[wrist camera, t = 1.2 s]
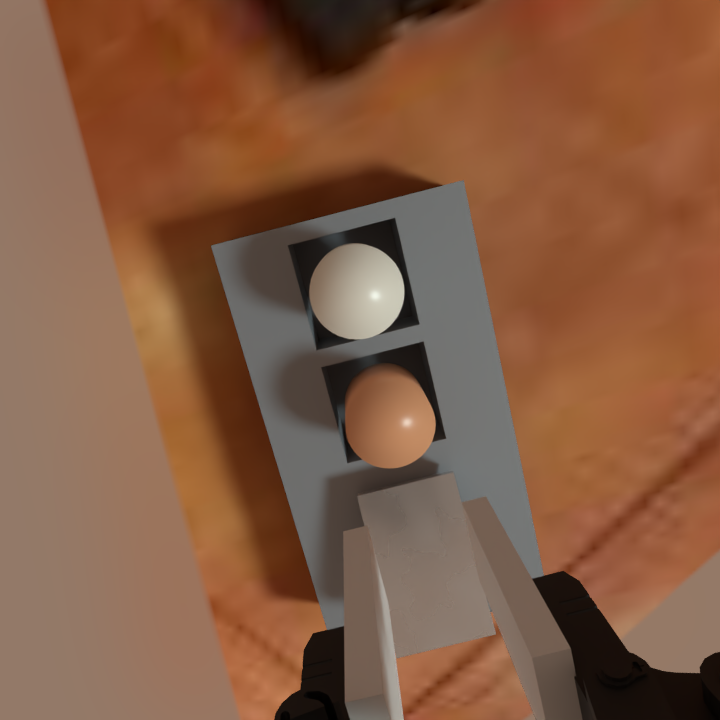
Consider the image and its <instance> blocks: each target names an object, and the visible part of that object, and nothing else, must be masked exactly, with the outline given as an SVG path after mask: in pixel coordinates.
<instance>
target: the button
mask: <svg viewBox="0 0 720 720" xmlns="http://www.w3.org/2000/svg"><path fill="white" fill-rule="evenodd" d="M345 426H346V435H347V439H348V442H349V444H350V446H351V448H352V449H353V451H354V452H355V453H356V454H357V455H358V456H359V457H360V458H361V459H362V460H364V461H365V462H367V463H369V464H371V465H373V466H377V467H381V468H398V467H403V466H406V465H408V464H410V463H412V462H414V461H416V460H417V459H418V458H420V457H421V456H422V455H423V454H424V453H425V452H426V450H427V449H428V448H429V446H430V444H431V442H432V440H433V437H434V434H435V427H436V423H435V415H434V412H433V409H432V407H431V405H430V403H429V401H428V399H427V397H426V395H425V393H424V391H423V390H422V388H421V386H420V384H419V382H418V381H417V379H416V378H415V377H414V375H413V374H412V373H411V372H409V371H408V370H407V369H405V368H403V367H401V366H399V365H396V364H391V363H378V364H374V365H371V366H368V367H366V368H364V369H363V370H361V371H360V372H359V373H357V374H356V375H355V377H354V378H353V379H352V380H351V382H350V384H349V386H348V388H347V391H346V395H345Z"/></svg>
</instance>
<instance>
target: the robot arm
mask: <svg viewBox="0 0 720 720" xmlns="http://www.w3.org/2000/svg"><path fill="white" fill-rule="evenodd" d="M462 506H463V511H464V515H465V519H466V524H467V528H468V532H469V537H470V541H471V545H472V550H473V554H474V558H475V563H476V567H477V571H478V576H479V580H480V583H481V585H482V587H483V590H484V592H485V595H486V597H487V600H488V602H489V605H490V607H491V610H492V612H493V615H494V617H495V620H496V622H497V625H498V627H499V630H500V632H501V635H502V637H503V640H504V642H505V644H506V647H507V649H508V652H509V654H510V657H511V659H512V662H513V664H514V667H515V669H516V672H517V674H518V677H519V679H520V682H521V684H522V687H523V689H524V692H525V694H526V697H527V699H528V701H529V704H530V706H531V709H532V711H533V714H534V716H535V719H536V720H720V652H718V653H714V654H712V655H710V656H709V657H707V658H705V659H704V661H703V663H702V664H701V666H700V673H674V672H666V671H661V670H657V669H653V668H651V667H650V666H649V665H648V664H647V662H646V661H645V660H643V659H642V658H640V657H638V656H637V655H635V654H633V653H629V652H628V651H627V649H626V648H625V646H624V645H623V643H622V642H621V640H620V639H619V637H618V636H617V635H616V633H615V632H614V630H613V629H612V627H611V626H610V624H609V623H608V622H607V620H606V619H605V617H604V616H603V614H602V613H601V611H600V610H599V609H598V608H597V606H596V604H595V603H594V601H593V600H592V598H590V596H589V594H588V593H587V591H586V590H585V588H584V587H583V585H582V584H581V583H580V581H579V580H577V579H575V578H574V577H572V576H570V575H569V574H567V573H566V572H564V571H561V572H557V573H553V574H549V575H545V576H541V577H537V578H533V579H532V578H531V576H530V574H529V573H528V571H527V569H526V567H525V565H524V564H523V562H522V560H521V558H520V557H519V555H518V553H517V551H516V549H515V548H514V546H513V544H512V542H511V540H510V539H509V537H508V535H507V533H506V531H505V530H504V528H503V526H502V524H501V522H500V521H499V519H498V517H497V515H496V513H495V512H494V510H493V508H492V506H491V505H490V503H489V501H488V499H487V497H486V496H485V497H481V498H477V499H473V500H468V501H464V502H462ZM343 557H344V626H342V627H338V628H333V629H329V630H325V631H321V632H317V633H313V635H312V636H311V638H310V640H309V642H308V643H307V645H306V647H305V649H304V656H303V669H302V678H301V680H302V683H301V690H299V691H297V692H295V693H293V694H292V695H290V696H289V697H288V698H287V699H286V700H285V701H284V702H283V703H282V704H281V706H280V707H279V709H278V711H277V712H276V714H275V719H274V720H404V719H403V711H402V703H401V696H400V688H399V680H398V673H397V665H396V657H395V650H394V642H393V634H392V627H391V619H390V611H389V604H388V599H387V596H386V592H385V588H384V585H383V581H382V577H381V574H380V570H379V566H378V563H377V559H376V555H375V552H374V548H373V544H372V541H371V537H370V533H369V530H368V526H363V527H359V528H355V529H351V530H347V531H343Z"/></svg>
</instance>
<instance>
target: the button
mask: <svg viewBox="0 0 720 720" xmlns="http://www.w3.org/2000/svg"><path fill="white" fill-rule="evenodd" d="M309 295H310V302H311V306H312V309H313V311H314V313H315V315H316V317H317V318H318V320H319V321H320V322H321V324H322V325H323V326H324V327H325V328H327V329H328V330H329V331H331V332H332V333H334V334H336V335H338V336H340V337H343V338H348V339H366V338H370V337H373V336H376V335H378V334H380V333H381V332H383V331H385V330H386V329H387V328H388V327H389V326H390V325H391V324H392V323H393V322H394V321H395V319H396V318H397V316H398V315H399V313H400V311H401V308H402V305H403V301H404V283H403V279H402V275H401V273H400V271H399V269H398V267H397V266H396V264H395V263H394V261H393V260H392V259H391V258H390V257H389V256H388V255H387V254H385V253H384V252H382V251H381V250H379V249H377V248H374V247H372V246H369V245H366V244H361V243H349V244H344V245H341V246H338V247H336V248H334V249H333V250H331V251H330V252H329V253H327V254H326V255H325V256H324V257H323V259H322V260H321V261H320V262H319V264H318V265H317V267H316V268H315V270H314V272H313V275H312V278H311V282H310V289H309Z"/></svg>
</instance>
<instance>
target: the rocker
mask: <svg viewBox="0 0 720 720" xmlns="http://www.w3.org/2000/svg"><path fill="white" fill-rule="evenodd" d="M357 498H358V502H359V506H360V510H361V514H362V518H363V523H364V526H368V530H369V533H370V537H371V541H372V544H373V548H374V552H375V555H376V559H377V563H378V566H379V570H380V574H381V577H382V581H383V585H384V588H385V592H386V596H387V599H388V604H389V611H390V619H391V627H392V634H393V642H394V649H395V653H396V658H400V657H404V656H408V655H412V654H416V653H420V652H425V651H429V650H433V649H437V648H441V647H445V646H449V645H454V644H458V643H462V642H466V641H470V640H474V639H478V638H482V637H487V636H491V635H495V634H496V632H495V629H494V625H493V621H492V617H491V613H490V609H489V606H488V602H487V598H486V595H485V592H484V590H483V587H482V585H481V583H480V580H479V576H478V571H477V567H476V563H475V558H474V554H473V550H472V545H471V541H470V537H469V532H468V528H467V524H466V519H465V515H464V511H463V507H462V503H461V499H460V495H459V491H458V488H457V484H456V480H455V476H454V472H453V471H451V470H450V471H446V472H442V473H438V474H434V475H430V476H426V477H422V478H418V479H414V480H409V481H405V482H401V483H397V484H393V485H389V486H385V487H381V488H377V489H373V490H369V491H365V492H361V493H358V495H357Z"/></svg>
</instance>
